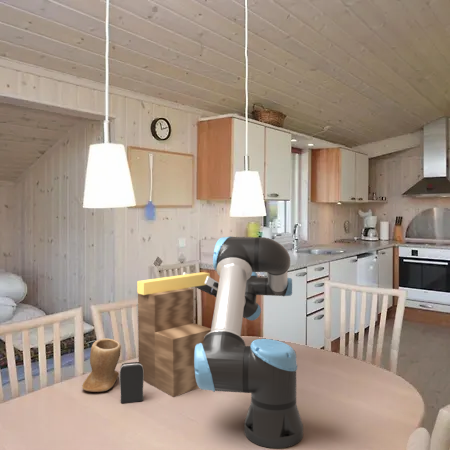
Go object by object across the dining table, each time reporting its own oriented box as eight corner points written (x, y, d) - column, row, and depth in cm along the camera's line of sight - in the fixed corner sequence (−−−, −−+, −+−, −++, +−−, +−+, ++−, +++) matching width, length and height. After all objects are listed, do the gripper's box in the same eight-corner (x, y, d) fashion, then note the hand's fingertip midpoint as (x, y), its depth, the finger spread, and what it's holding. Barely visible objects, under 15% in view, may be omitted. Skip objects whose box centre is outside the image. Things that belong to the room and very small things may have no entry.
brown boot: (116, 395, 136) (115, 347, 135) (77, 394, 136) (77, 347, 135) (127, 375, 151) (126, 333, 150) (93, 375, 151) (92, 333, 150)
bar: (202, 282, 163) (202, 272, 162) (209, 284, 160) (209, 273, 160) (137, 293, 144) (137, 281, 144) (143, 295, 141) (143, 282, 141)
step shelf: (176, 366, 160) (176, 285, 158) (212, 382, 145) (212, 293, 143) (138, 378, 149) (137, 291, 147) (173, 397, 134) (172, 300, 133)
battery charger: (143, 396, 135) (142, 359, 134) (143, 401, 131) (143, 364, 130) (120, 398, 133) (119, 361, 133) (120, 404, 129) (119, 366, 129)
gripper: (250, 314, 160) (213, 292, 147) (207, 302, 179) (170, 282, 166) (258, 295, 162) (221, 271, 150) (214, 286, 181) (178, 264, 168)
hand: (194, 277), depth 158 cm, fingers open, 13 cm apart
